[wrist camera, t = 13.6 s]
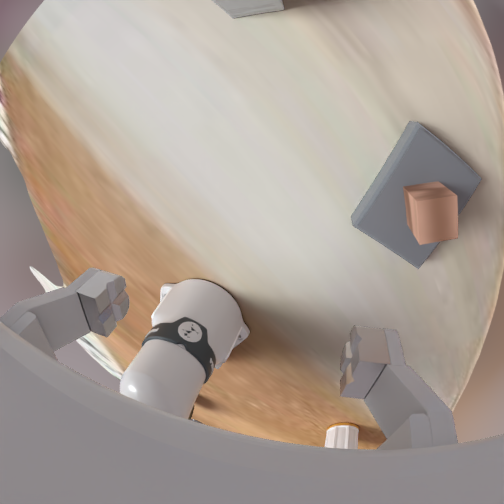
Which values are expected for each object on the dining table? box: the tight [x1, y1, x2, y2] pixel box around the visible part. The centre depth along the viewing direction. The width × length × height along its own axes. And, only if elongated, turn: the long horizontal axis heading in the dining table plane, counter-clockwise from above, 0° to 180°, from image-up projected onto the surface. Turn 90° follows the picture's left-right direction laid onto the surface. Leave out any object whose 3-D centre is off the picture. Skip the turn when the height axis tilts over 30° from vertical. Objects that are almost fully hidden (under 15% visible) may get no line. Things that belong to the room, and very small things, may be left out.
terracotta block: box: [403, 181, 458, 245], centre depth 28 cm, size 5×5×6 cm
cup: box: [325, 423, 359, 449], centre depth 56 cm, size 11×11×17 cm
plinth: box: [351, 121, 482, 269], centre depth 32 cm, size 16×12×4 cm
